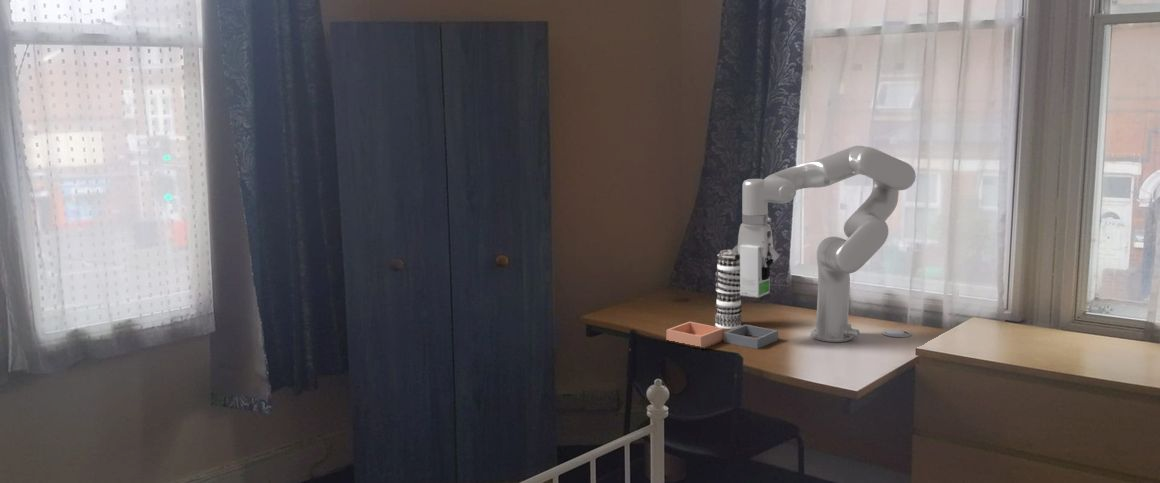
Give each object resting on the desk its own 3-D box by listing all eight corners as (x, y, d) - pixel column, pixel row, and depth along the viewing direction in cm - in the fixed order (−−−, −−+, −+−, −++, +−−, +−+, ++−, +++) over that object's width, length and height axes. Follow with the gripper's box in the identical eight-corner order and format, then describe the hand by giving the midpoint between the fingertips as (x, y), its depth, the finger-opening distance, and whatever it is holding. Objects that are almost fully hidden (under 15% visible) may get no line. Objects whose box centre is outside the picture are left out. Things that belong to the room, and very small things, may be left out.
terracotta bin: (723, 340, 285) (723, 328, 284) (700, 349, 276) (701, 336, 275) (689, 333, 293) (689, 321, 293) (666, 342, 284) (666, 329, 283)
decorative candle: (741, 330, 297) (743, 253, 293) (712, 328, 299) (714, 252, 295) (743, 322, 306) (745, 248, 302) (715, 321, 308) (716, 247, 304)
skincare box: (758, 298, 277) (758, 247, 274) (738, 295, 281) (738, 245, 278) (770, 292, 284) (770, 243, 281) (751, 290, 287) (751, 241, 285)
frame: (777, 340, 286) (778, 330, 285) (757, 349, 276) (757, 339, 276) (745, 333, 293) (745, 324, 293) (723, 342, 284) (724, 332, 283)
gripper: (786, 220, 275) (786, 279, 278) (736, 216, 287) (736, 272, 290) (774, 224, 270) (773, 283, 273) (723, 219, 281) (723, 276, 284)
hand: (754, 277), depth 281 cm, fingers closed on skincare box, 6 cm apart
